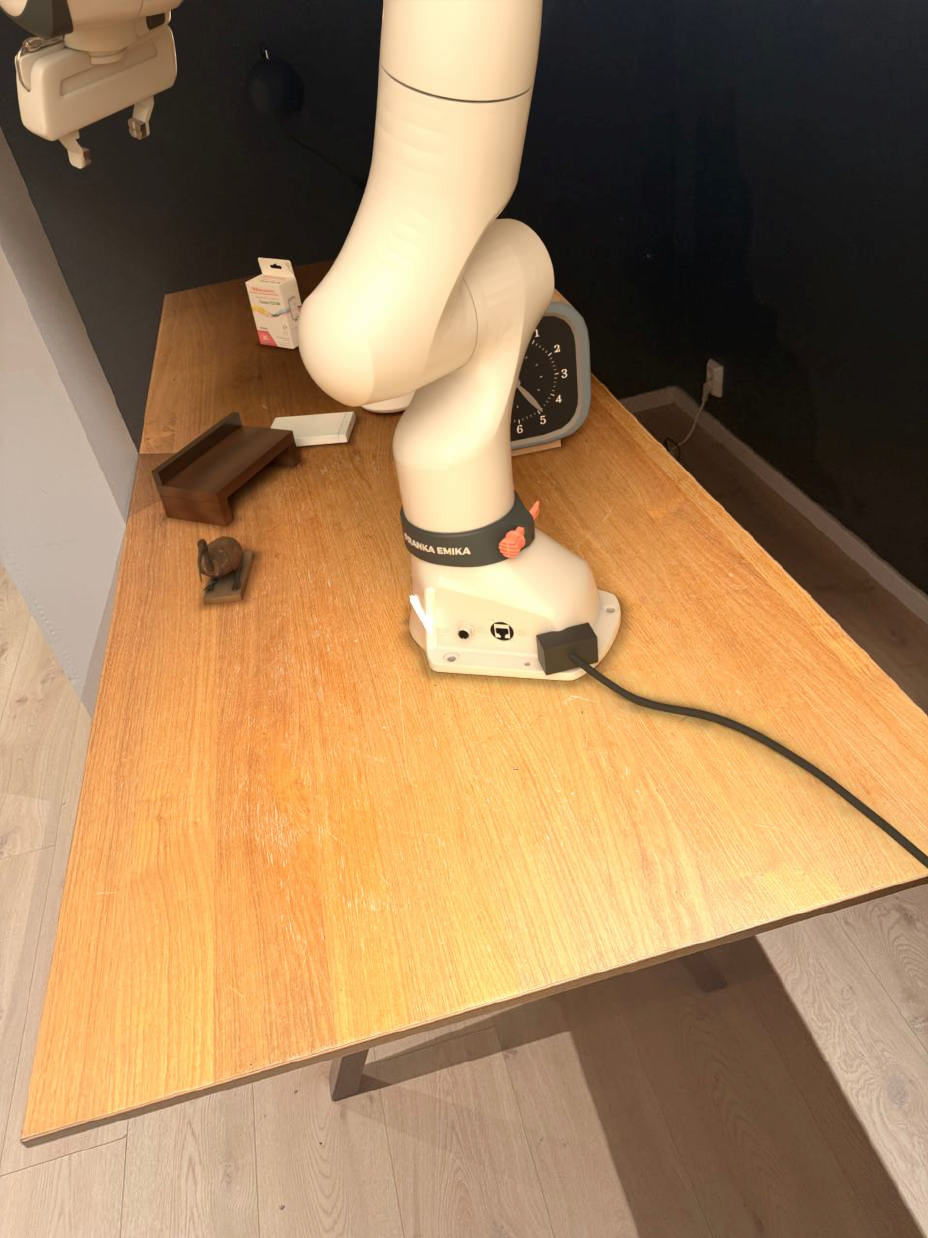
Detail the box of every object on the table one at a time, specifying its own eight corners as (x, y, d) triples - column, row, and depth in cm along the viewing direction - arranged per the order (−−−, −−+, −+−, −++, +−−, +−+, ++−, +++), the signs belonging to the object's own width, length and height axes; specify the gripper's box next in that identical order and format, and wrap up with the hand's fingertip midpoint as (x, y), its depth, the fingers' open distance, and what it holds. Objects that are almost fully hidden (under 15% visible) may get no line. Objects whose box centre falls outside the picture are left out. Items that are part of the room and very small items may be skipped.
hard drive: (263, 440, 140) (345, 433, 139) (275, 416, 147) (354, 409, 145) (266, 450, 141) (347, 443, 140) (278, 426, 148) (356, 419, 146)
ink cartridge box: (259, 345, 178) (238, 265, 169) (276, 335, 181) (257, 256, 172) (293, 349, 174) (274, 268, 165) (310, 339, 177) (292, 258, 168)
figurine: (236, 622, 107) (214, 558, 101) (197, 627, 107) (173, 563, 102) (254, 554, 118) (236, 493, 113) (219, 558, 118) (199, 498, 113)
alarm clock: (449, 473, 129) (426, 315, 116) (436, 443, 136) (413, 292, 123) (594, 442, 131) (588, 284, 118) (574, 415, 138) (566, 264, 125)
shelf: (300, 461, 137) (289, 417, 133) (226, 526, 124) (211, 479, 120) (244, 455, 141) (231, 411, 137) (167, 517, 128) (150, 471, 124)
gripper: (37, 55, 91) (64, 194, 102) (180, 0, 103) (191, 129, 114) (-13, 33, 92) (20, 172, 103) (135, -19, 104) (150, 111, 115)
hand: (111, 149), depth 108 cm, fingers open, 8 cm apart
